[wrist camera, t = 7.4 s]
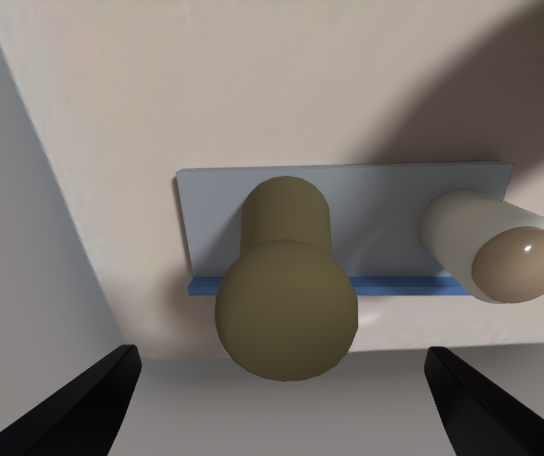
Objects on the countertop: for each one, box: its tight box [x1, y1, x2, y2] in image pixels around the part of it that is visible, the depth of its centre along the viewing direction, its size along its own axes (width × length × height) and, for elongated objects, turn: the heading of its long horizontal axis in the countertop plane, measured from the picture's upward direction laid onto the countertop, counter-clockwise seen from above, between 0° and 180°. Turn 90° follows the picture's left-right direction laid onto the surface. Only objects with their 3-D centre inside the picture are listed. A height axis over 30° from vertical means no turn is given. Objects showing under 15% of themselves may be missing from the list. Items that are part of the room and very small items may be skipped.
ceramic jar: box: [418, 189, 544, 304], centre depth 16 cm, size 5×5×6 cm
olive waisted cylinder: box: [215, 176, 358, 381], centre depth 14 cm, size 6×6×11 cm
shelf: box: [176, 161, 514, 295], centre depth 19 cm, size 21×9×2 cm, turn 92°
